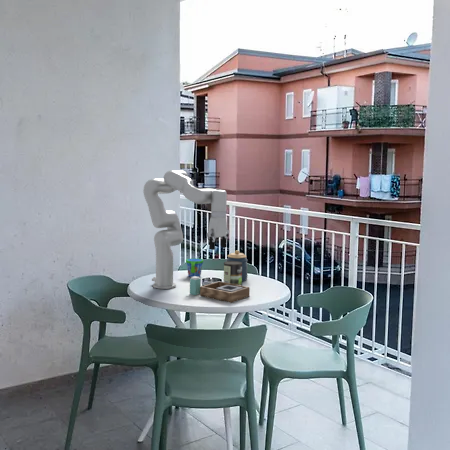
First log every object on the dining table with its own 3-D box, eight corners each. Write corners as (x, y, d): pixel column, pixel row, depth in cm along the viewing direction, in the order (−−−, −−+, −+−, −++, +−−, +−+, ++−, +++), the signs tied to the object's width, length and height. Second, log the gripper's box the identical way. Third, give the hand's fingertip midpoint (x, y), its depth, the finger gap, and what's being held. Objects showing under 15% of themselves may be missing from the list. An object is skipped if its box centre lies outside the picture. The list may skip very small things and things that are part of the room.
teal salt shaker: (189, 293, 270) (189, 277, 269) (194, 292, 273) (194, 275, 272) (195, 295, 267) (195, 278, 266) (200, 293, 271) (200, 277, 270)
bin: (200, 296, 266) (200, 286, 265) (218, 290, 278) (218, 281, 278) (231, 302, 254) (231, 293, 253) (249, 296, 267) (249, 287, 266)
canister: (231, 276, 314) (231, 247, 312) (250, 278, 309) (251, 249, 307) (222, 280, 302) (222, 250, 300) (242, 282, 297) (242, 252, 295)
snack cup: (189, 273, 321) (189, 256, 319) (205, 273, 319) (205, 257, 317) (182, 278, 305) (182, 261, 304) (199, 279, 303) (200, 262, 302)
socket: (215, 295, 263) (216, 288, 263) (227, 291, 271) (227, 284, 271) (231, 299, 257) (231, 291, 257) (242, 295, 265) (243, 287, 265)
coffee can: (244, 286, 288) (244, 261, 287) (238, 290, 279) (238, 265, 277) (227, 284, 292) (227, 260, 290) (220, 288, 282) (221, 263, 281)
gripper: (223, 212, 266) (222, 245, 268) (202, 215, 252) (201, 249, 255) (234, 214, 262) (233, 247, 264) (214, 216, 248) (213, 251, 250)
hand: (217, 248), depth 259 cm, fingers open, 9 cm apart
